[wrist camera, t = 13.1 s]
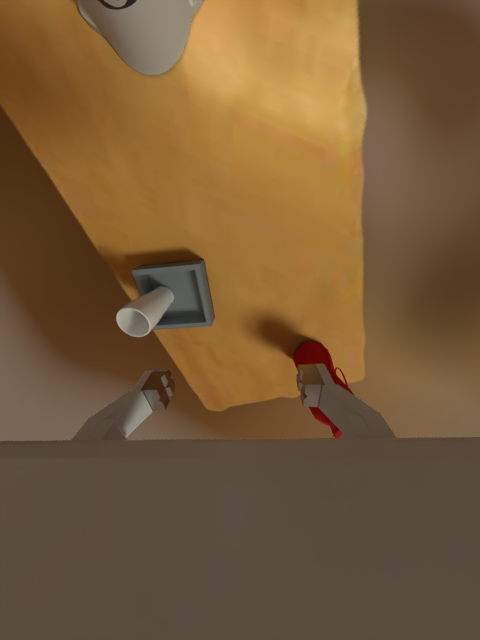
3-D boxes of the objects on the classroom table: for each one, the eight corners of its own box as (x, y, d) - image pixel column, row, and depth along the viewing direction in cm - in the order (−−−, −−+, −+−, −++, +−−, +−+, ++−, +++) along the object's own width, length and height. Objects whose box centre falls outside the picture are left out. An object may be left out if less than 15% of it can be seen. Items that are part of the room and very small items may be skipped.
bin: (142, 265, 46) (130, 270, 41) (204, 259, 44) (199, 264, 40) (161, 320, 53) (153, 329, 49) (214, 317, 52) (211, 326, 48)
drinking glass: (149, 299, 49) (112, 328, 36) (156, 277, 46) (119, 301, 33) (172, 310, 50) (145, 342, 37) (181, 290, 47) (155, 317, 34)
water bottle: (334, 342, 54) (391, 425, 33) (313, 367, 60) (350, 453, 38) (307, 332, 53) (348, 411, 31) (288, 358, 58) (312, 442, 36)
